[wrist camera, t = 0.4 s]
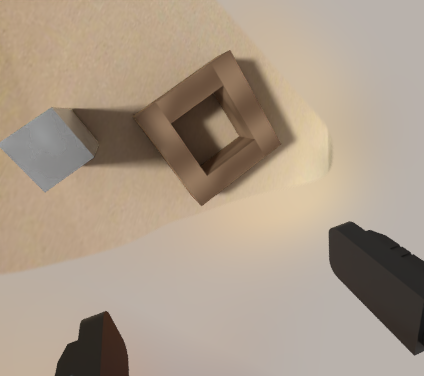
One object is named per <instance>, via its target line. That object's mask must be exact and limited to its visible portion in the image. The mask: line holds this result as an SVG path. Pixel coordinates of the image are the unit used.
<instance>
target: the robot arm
mask: <svg viewBox="0 0 424 376" xmlns="http://www.w3.org/2000/svg"><path fill="white" fill-rule="evenodd" d="M329 260H330V265H331V268H332V270H333V272H334V273H335V275H336V276H337V277H338V278H339V279H340V280H341V281H342V282H343V283H344V284H345V285H346V286H347V287H348V289H350V291H351V292H352V293H353V294H354V295H355V296H356V297H357V298H358V299H359V300H360V301H361V302H362V303H363V304H364V305H365V306H366V307H367V308H368V309H369V310H370V311H371V312H372V313H373V314H374V315H375V316H376V317H377V318H378V319H379V320H380V321H381V322H382V323H383V324H384V325H385V326H386V327H387V328H388V329H389V330H390V331H391V332H392V333H393V334H394V335H395V336H396V337H397V338H398V339H399V340H400V341H401V343H403V344H404V345H405V346H406V348H407V349H408V350H409V351H410V352H411V353H412V354H413V355H417V354H419V353H421V352H423V351H424V261H423V260H421V259H420V258H418V257H417V256H415V255H414V254H413V255H412V254H411V252H409V251H408V250H406V249H405V248H403V247H400V245H399V244H398V243H396V242H394V241H393V240H392V239H390V238H389V237H387V236H385V235H383V234H380V233H377V232H374V231H372V230H368V231H365V230H363V229H362V228H361V227H359V226H358V225H356V224H355V223H353V222H347V223H344V224H341V225H339V226H336V227H333V228H331V229H330V230H329ZM55 376H129V367H128V354H127V349H126V346H125V343H124V340H123V338H122V337H121V335H120V333H119V331H118V329H117V327H116V325H115V324H114V322H113V320H112V318H111V316H110V314H109V313H108V312H107V311H105V312H102V313H100V314H97V315H94V316H91V317H89V318H86V319H83V320H82V321H81V323H80V329H79V336H78V340H77V341H75V342H72V343H69V344H67V346H66V348H65V350H64V352H63V354H62V355H61V357H60V359H59V361H58V363H57V368H56V373H55Z"/></svg>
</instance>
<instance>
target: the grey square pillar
mask: <svg viewBox="0 0 424 376" xmlns="http://www.w3.org/2000/svg"><path fill="white" fill-rule="evenodd" d="M98 145H99V142H98V141H97V140H96V138H95V137H94V136H93V135H92V134H91V132H90V131H89V130H88V129H87V128H86V126H85V125H84V124H83V123H82V122H81V120H80V119H79V118H78V117H77V116H76V114H75V113H74V112H73V111H72V110H71V108H56V107H51V108H50V109H48V110H47V111H45V112H44V113H42V114H41V115H39V116H38V117H36V118H35V119H34V120H32V121H31V122H29V123H28V124H26V125H25V126H23V127H22V128H20V129H19V130H17V131H16V132H14V133H13V134H11V135H10V136H9V137H7V138H6V139H4V140H3V141H1V142H0V148H1V149H2V150H3V151H4V152H5V153H6V154H7V155H8V156H9V157H10V158H11V159H12V160H13V161H14V162H15V163H16V164H17V165H18V166H19V167H20V168H21V169H22V170H23V171H24V172H25V173H26V174H27V175H28V176H29V177H30V178H31V179H32V180H33V181H34V182H35V183H36V184H37V185H38V186H39V187H40V188H41V189H42V190H43V191H44V192H46V191H48V190H49V189H51V188H52V187H53V186H55V185H56V184H58V183H59V182H60V181H62V180H63V179H65V178H66V177H67V176H69V175H70V174H72V173H73V172H74V171H76V170H77V169H78V168H80V167H81V166H83V165H84V164H85V163H87V162H88V161H90V160H91V159H92V158H94V156H95V154H96V151H97V148H98Z"/></svg>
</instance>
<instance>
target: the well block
mask: <svg viewBox="0 0 424 376" xmlns="http://www.w3.org/2000/svg"><path fill="white" fill-rule="evenodd" d="M212 93H214V95H215V97H216V98H217V100H218V101H219V103H220V105H221V106H222V108H223V110H224V111H225V113H226V115H227V116H228V118H229V120H230V121H231V123H232V125H233V126H234V128H235V130H236V131H237V133H238V135H239V137H238V138H237V139H235V140H234V141H233V142H231V143H230V144H229V145H227V146H226V147H225V148H223V149H222V150H221V151H219V152H218V153H217V154H215V155H214V156H213V157H211V158H210V159H209V160H208V161H206V162H205V163H204V164H202V165H201V166H200V165H199V164H198V162H197V161H196V160H195V158H194V157H193V155H192V154H191V152H190V151H189V149H188V148H187V147H186V145H185V144H184V142H183V141H182V139H181V138H180V137H179V135H178V134H177V132H176V131H175V129H174V128H173V126H172V125H171V123H172V122H174V121H175V120H177V119H178V118H179V117H181V116H182V115H183V114H185V113H186V112H188V111H189V110H190V109H192V108H193V107H194V106H196V105H197V104H199V103H200V102H201V101H203V100H204V99H205V98H207V97H208V96H210V95H211V94H212ZM133 118H134V119H135V120H136V122H137V123H138V124H139V126H140V127H141V128H142V130H143V131H144V132H145V134H146V135H147V136H148V138H149V139H150V141H151V142H152V143H153V145H154V146H155V147H156V149H157V150H158V151H159V153H160V154H161V155H162V157H163V158H164V159H165V161H166V162H167V163H168V165H169V166H170V167H171V169H172V170H173V171H174V173H175V174H176V175H177V177H178V178H179V179H180V181H181V182H182V183H183V185H184V186H185V187H186V189H187V190H188V192H189V193H190V194H191V196H192V197H193V198H194V199H195V200H196V201H197V202H198V203H199V204H200V205H201V206H202V205H204V204H205V203H206V202H208V201H209V200H210V199H211V198H213V197H214V196H215V195H217V194H218V193H219V192H220V191H222V190H223V189H224V188H226V187H227V186H228V185H229V184H231V183H232V182H233V181H235V180H236V179H237V178H239V177H240V176H241V175H242V174H244V173H245V172H246V171H248V170H249V169H250V168H251V167H253V166H254V165H255V164H257V163H258V162H259V161H260V160H262V159H263V158H264V157H266V156H267V155H268V154H269V153H271V152H272V151H273V150H275V149H276V148H277V147H278V146H280V145H281V143H280V141H279V139H278V137H277V135H276V134H275V132H274V130H273V128H272V126H271V124H270V123H269V121H268V119H267V117H266V115H265V113H264V112H263V110H262V108H261V106H260V104H259V102H258V100H257V99H256V97H255V95H254V93H253V91H252V89H251V88H250V86H249V84H248V82H247V80H246V78H245V77H244V75H243V73H242V71H241V69H240V67H239V66H238V64H237V62H236V60H235V58H234V56H233V54H232V53H231V51H230V50H229V51H227V52H225V53H223V54H221V55H219V56H217V57H216V58H214V59H213V60H211V61H210V62H209V63H207V64H206V65H204V66H203V67H202V68H200V69H199V70H197V71H196V72H195V73H193V74H192V75H190V76H189V77H187V78H186V79H185V80H183V81H182V82H180V83H179V84H178V85H176V86H175V87H173V88H172V89H171V90H169V91H168V92H166V93H165V94H164V95H162V96H161V97H159V98H158V99H157V100H155V101H154V102H152V103H151V104H149V105H148V106H147V107H145V108H144V109H142V110H141V111H140V112H138V113H137V114H135V115H134V116H133Z"/></svg>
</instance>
